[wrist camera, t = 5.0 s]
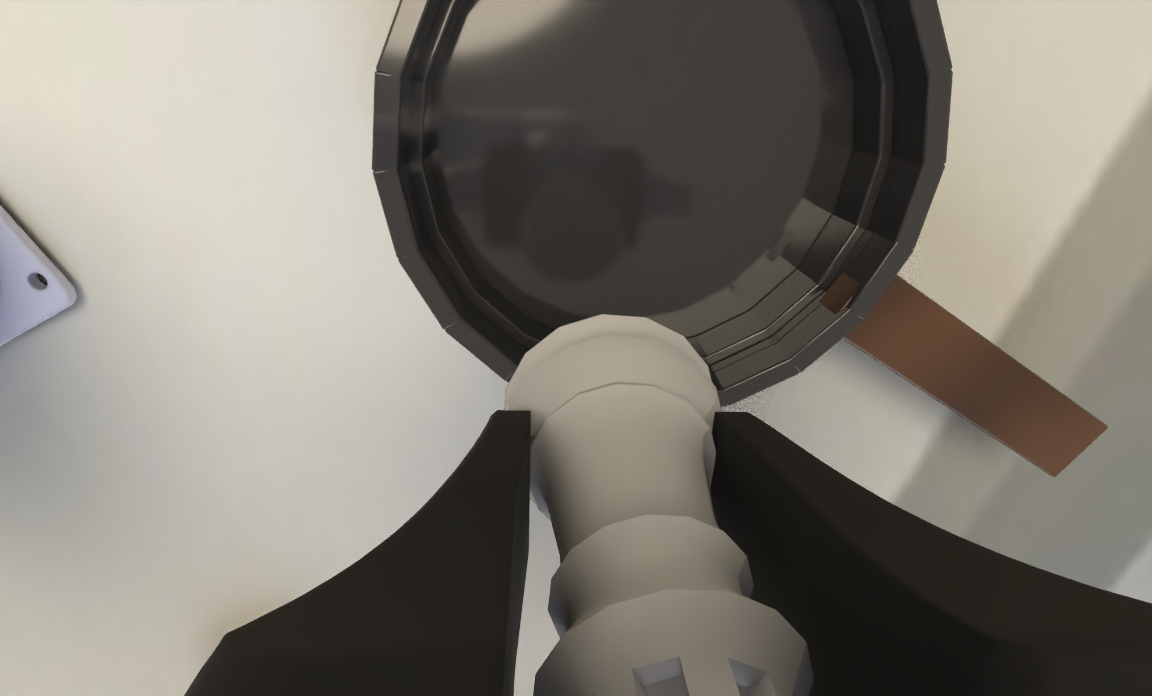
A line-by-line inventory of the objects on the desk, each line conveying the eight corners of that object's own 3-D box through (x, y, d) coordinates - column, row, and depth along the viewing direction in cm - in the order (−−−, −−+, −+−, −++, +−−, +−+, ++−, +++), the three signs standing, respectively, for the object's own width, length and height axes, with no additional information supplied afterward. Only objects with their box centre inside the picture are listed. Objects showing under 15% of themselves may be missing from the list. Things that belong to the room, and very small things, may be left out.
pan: (299, 34, 17) (243, 27, 14) (786, -263, 15) (855, -351, 12) (546, 428, 23) (548, 490, 19) (929, 245, 21) (1003, 279, 17)
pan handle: (809, 312, 19) (825, 327, 18) (859, 250, 18) (880, 262, 17) (1028, 458, 22) (1055, 478, 21) (1080, 408, 21) (1110, 427, 20)
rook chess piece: (657, 266, 13) (830, 543, 5) (741, 435, 14) (957, 820, 7) (463, 367, 13) (378, 739, 6) (565, 517, 15) (596, 950, 8)
